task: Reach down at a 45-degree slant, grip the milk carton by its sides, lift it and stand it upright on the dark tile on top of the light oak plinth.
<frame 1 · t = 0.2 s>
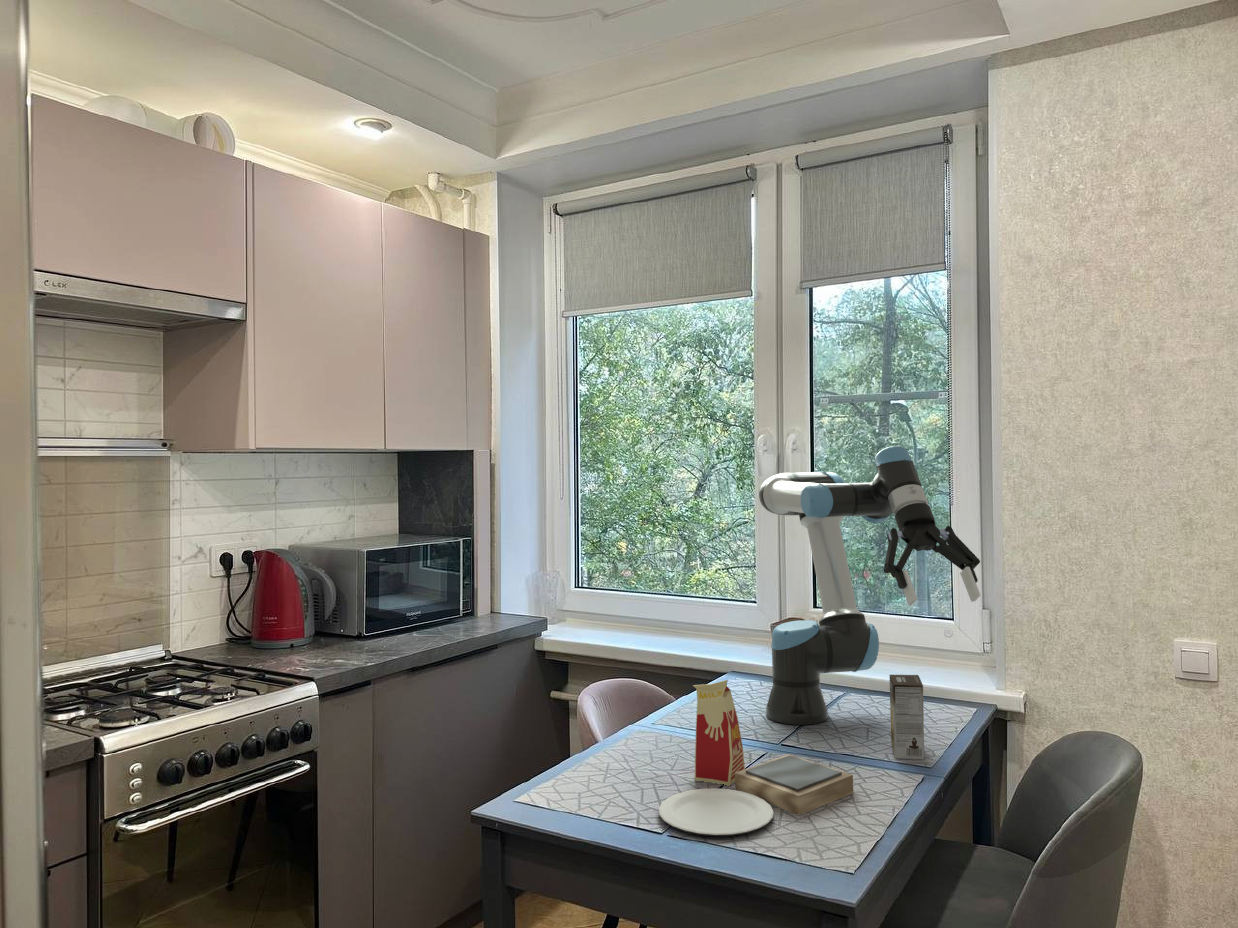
hand: (944, 600, 174), 36 cm above the table, tool tilted 35°, fingers open, 13 cm apart
oak plinth: (793, 791, 170), on the table
plate: (715, 819, 159), on the table
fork: (714, 752, 195), on the table
coffee box: (907, 753, 191), on the table
milk carton: (717, 776, 179), on the table
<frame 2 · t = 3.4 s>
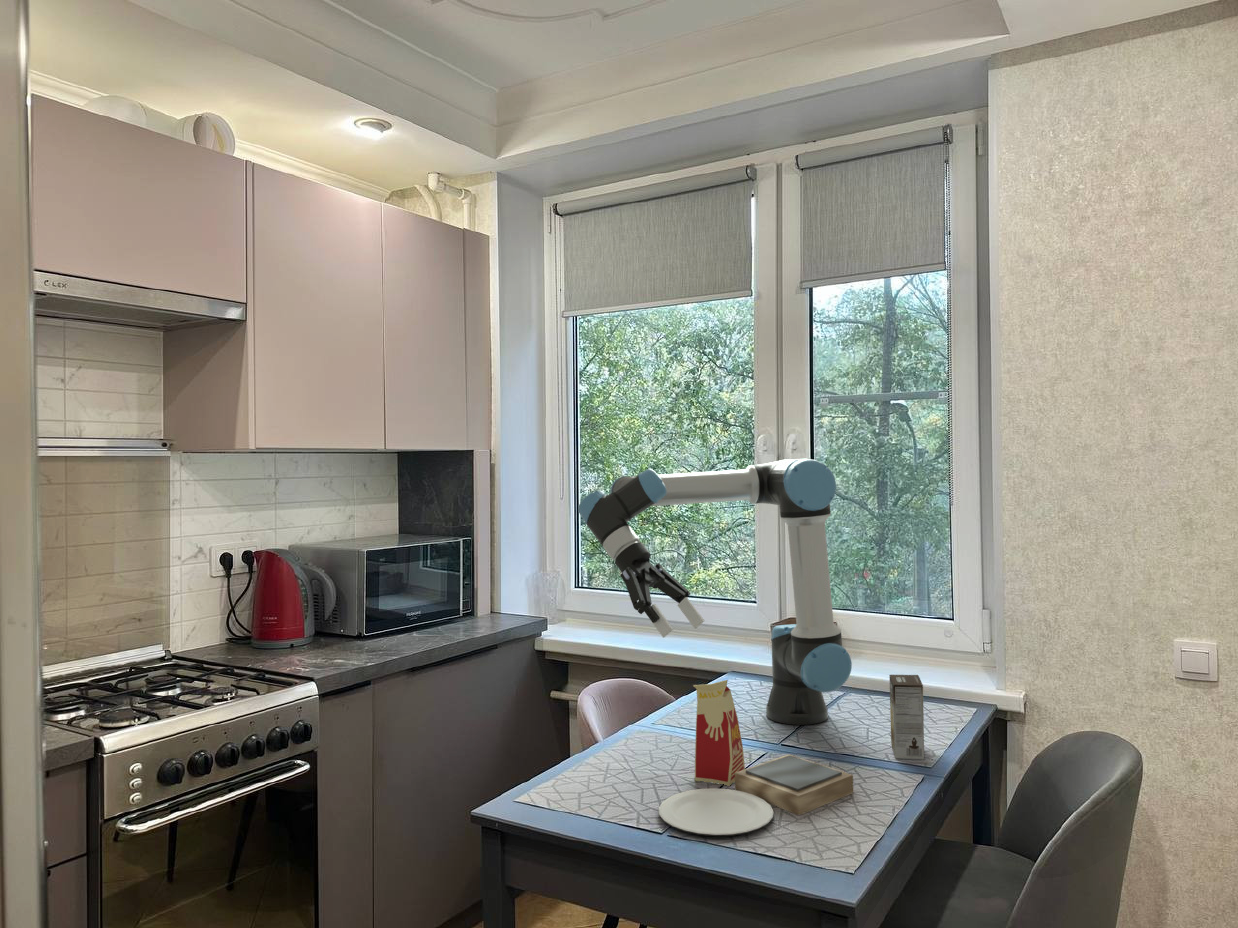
hand: (684, 629, 184), 29 cm above the table, tool tilted 40°, fingers open, 13 cm apart
nothing on the table moved.
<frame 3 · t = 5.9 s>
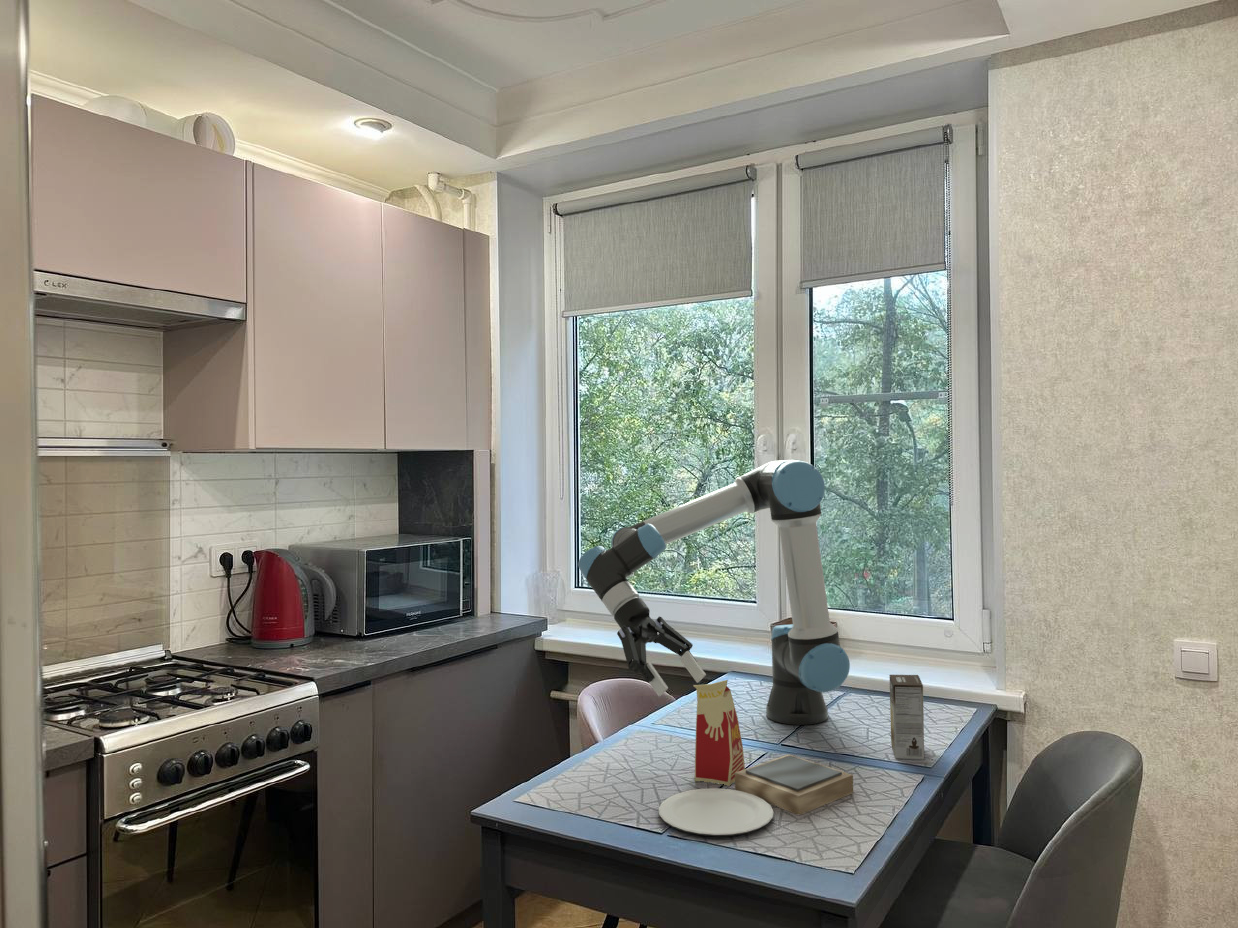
hand: (683, 685, 183), 18 cm above the table, tool tilted 45°, fingers open, 13 cm apart
nothing on the table moved.
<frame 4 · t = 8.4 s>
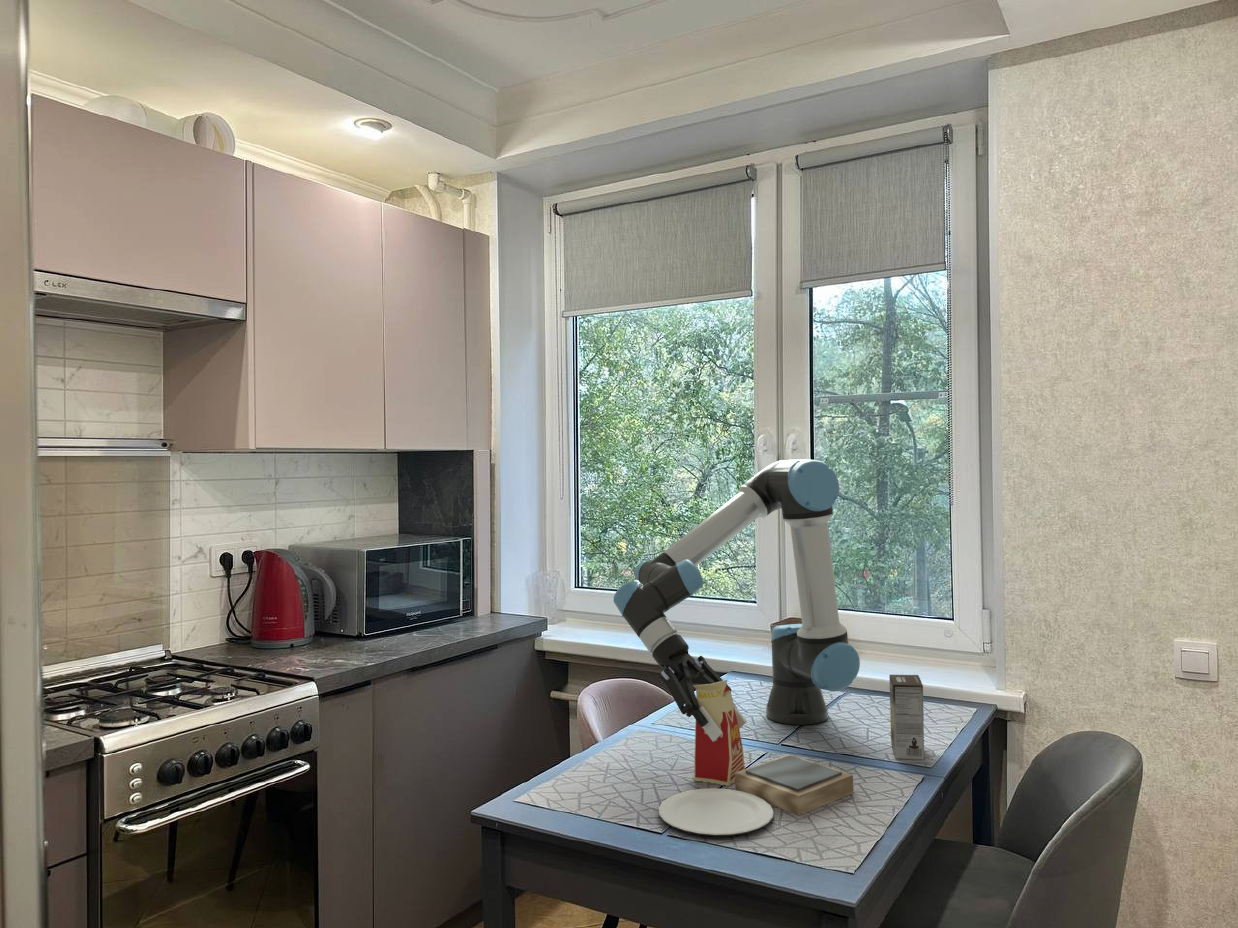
hand: (730, 731, 177), 10 cm above the table, tool tilted 45°, fingers closed on milk carton, 8 cm apart
milk carton: (717, 776, 179), on the table, touching gripper
everything else where it was.
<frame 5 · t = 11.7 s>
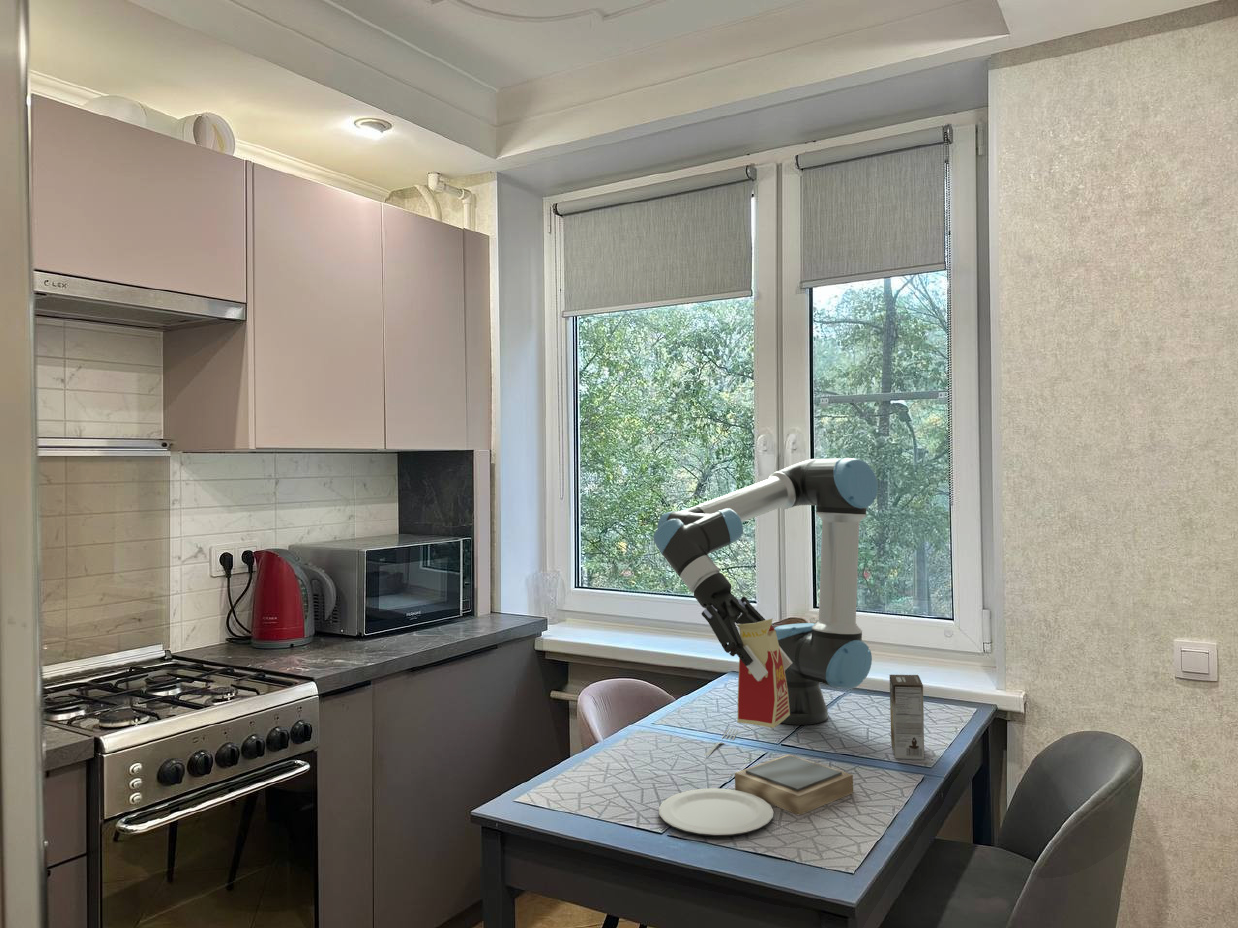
hand: (775, 671, 170), 23 cm above the table, tool tilted 45°, fingers closed on milk carton, 8 cm apart
milk carton: (760, 719, 172), point 13 cm above the table, touching gripper
everything else where it was.
when the fingers open (15 cm above the table, at t = 14.6 s): milk carton drops 1 cm, resting on oak plinth.
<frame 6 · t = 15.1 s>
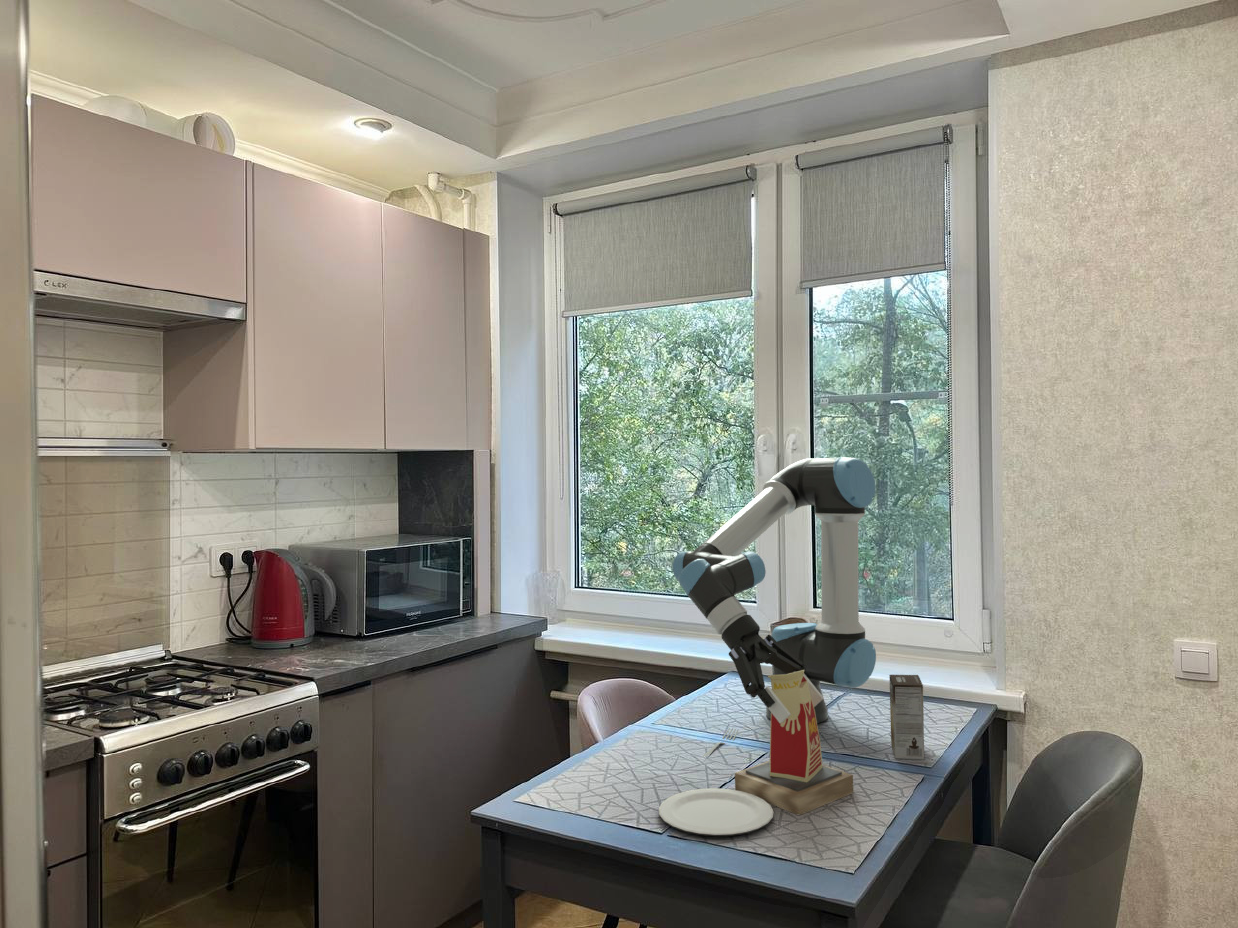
hand: (802, 710, 168), 16 cm above the table, tool tilted 45°, fingers open, 13 cm apart
milk carton: (793, 772, 170), point 4 cm above the table, touching oak plinth
everything else where it was.
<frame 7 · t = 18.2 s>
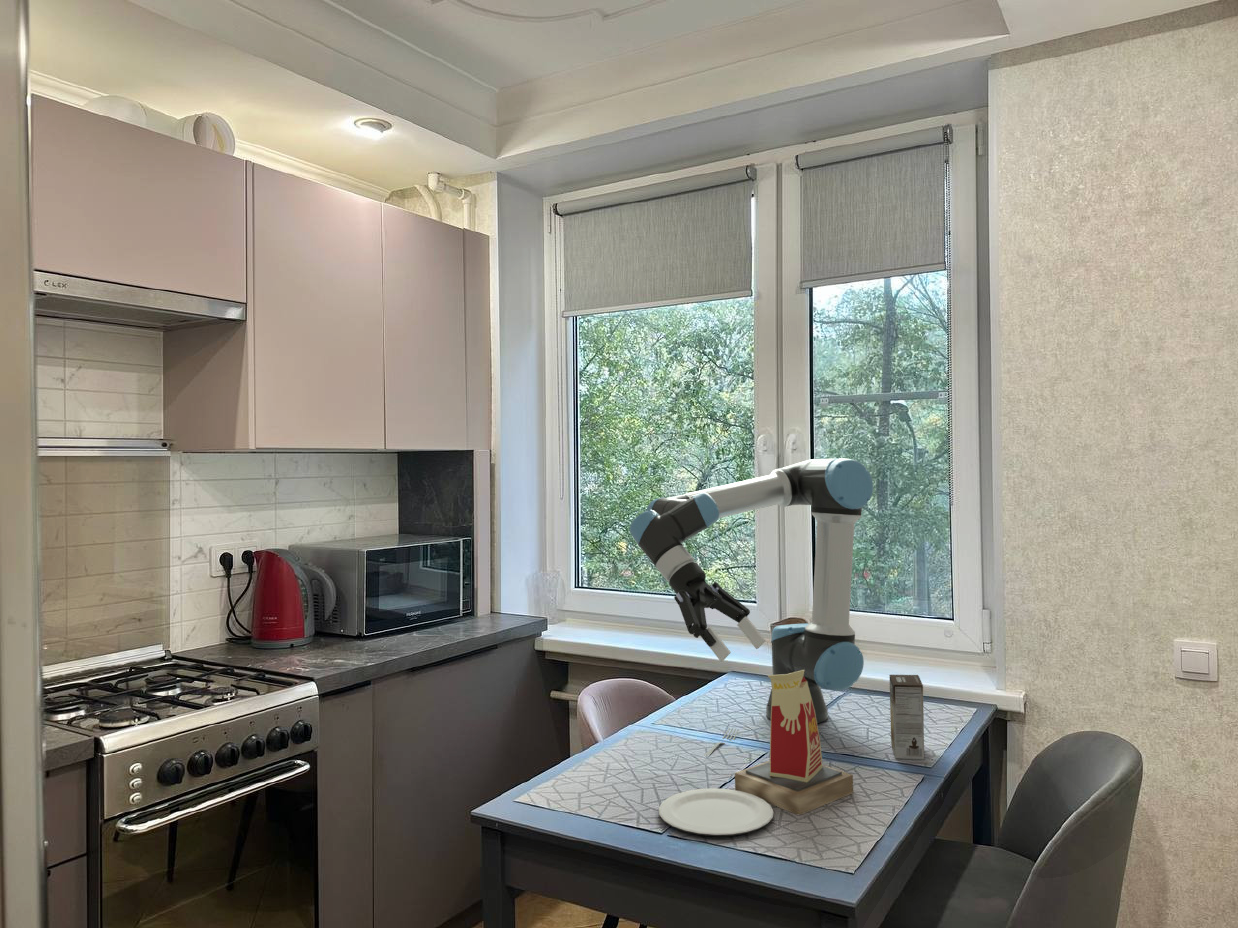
hand: (744, 650, 176), 26 cm above the table, tool tilted 45°, fingers open, 13 cm apart
nothing on the table moved.
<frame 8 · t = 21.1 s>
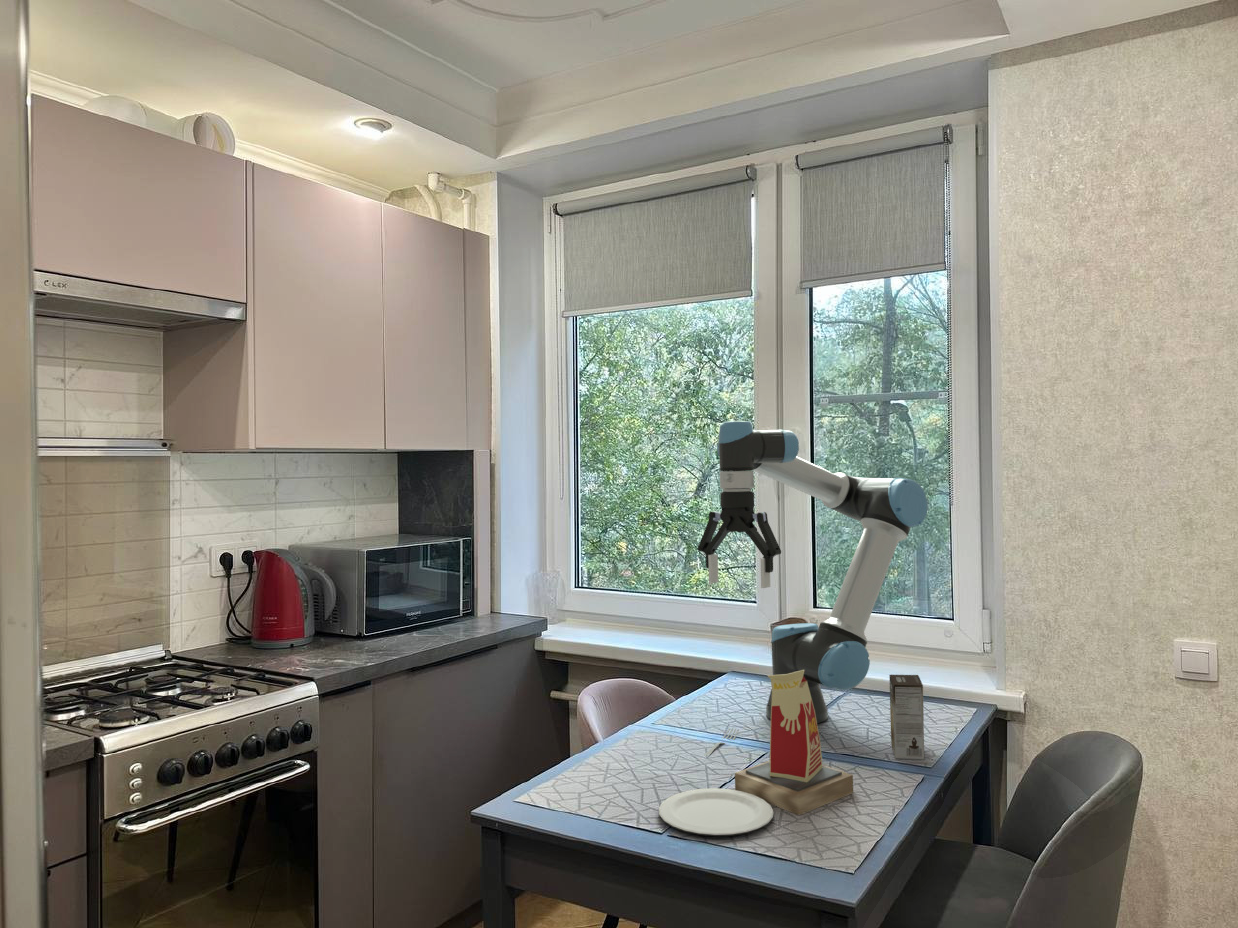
hand: (739, 585, 195), 37 cm above the table, tool pointing down, fingers open, 13 cm apart
nothing on the table moved.
at the end: milk carton inside the target area on the oak plinth (0.2 cm from its centre), point 3.8 cm above the oak plinth's base; milk carton tilted 0°; the gripper is holding nothing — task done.
